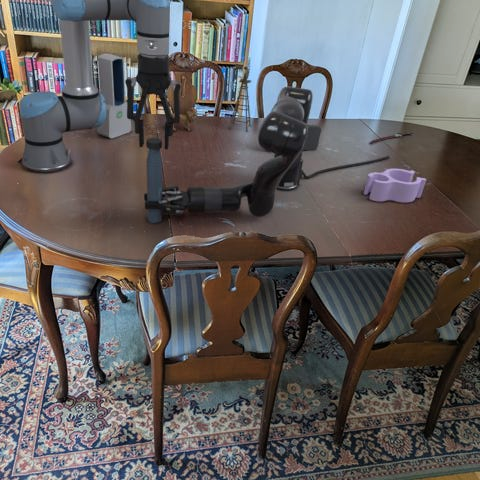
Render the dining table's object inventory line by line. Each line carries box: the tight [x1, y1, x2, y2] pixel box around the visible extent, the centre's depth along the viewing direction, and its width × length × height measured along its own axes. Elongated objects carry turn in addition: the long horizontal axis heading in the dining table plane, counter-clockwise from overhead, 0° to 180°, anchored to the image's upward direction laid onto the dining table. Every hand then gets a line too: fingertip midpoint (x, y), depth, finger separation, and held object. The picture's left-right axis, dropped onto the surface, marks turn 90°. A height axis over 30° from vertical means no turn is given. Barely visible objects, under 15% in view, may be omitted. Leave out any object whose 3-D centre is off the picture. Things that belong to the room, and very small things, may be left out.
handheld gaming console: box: [303, 124, 322, 151], centre depth 189 cm, size 23×3×10 cm, turn 108°
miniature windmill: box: [228, 58, 252, 132], centre depth 200 cm, size 9×8×30 cm
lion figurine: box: [162, 107, 198, 132], centre depth 197 cm, size 15×5×9 cm, turn 110°
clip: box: [362, 168, 427, 203], centre depth 162 cm, size 20×12×7 cm, turn 109°
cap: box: [145, 137, 163, 150], centre depth 123 cm, size 4×4×2 cm
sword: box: [370, 132, 414, 145], centre depth 214 cm, size 31×3×1 cm, turn 126°
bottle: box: [146, 148, 163, 224], centre depth 129 cm, size 4×4×24 cm
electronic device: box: [96, 53, 132, 139], centre depth 180 cm, size 12×8×30 cm, turn 148°
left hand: (154, 146), depth 123 cm, fingers open, 6 cm apart
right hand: (144, 201), depth 132 cm, fingers closed on bottle, 4 cm apart
